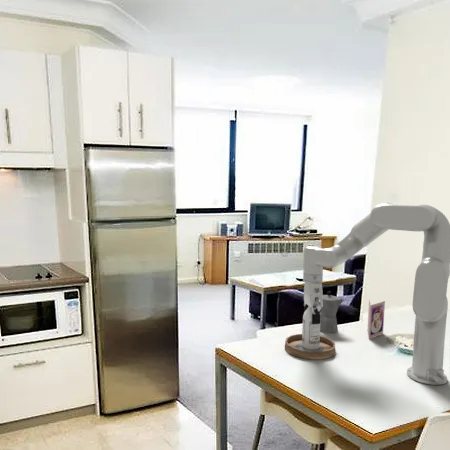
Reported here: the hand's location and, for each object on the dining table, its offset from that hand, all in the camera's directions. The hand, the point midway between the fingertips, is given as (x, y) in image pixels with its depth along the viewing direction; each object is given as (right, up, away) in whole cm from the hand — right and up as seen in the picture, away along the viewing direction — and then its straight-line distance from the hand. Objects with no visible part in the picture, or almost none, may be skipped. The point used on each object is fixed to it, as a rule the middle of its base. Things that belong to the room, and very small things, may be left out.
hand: (311, 319), depth 167 cm
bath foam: (0, -11, +1) cm, 11 cm away
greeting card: (+30, -11, +20) cm, 38 cm away
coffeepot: (+12, -10, +26) cm, 30 cm away
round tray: (0, -12, +1) cm, 12 cm away
